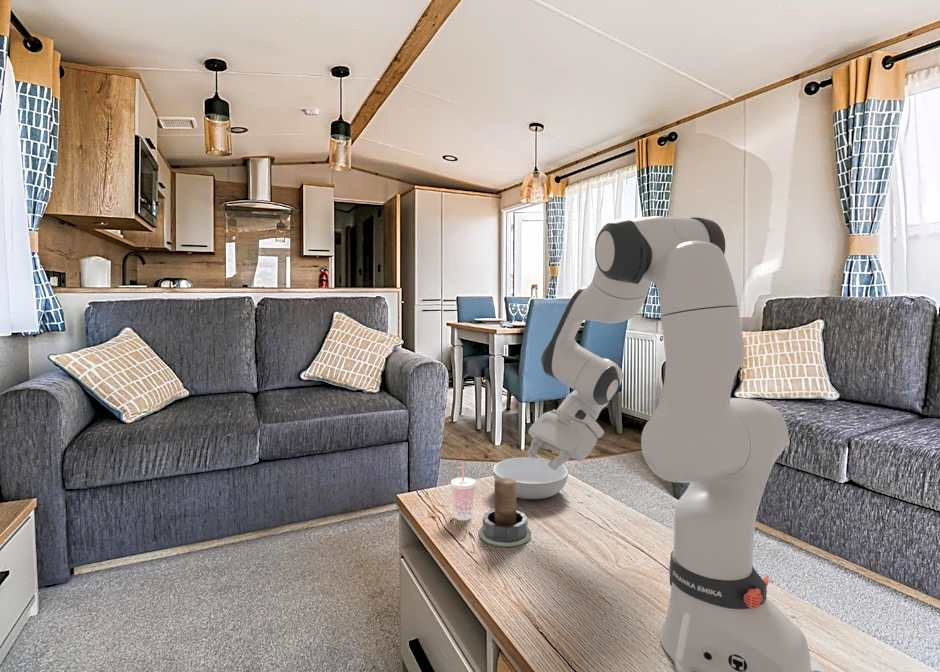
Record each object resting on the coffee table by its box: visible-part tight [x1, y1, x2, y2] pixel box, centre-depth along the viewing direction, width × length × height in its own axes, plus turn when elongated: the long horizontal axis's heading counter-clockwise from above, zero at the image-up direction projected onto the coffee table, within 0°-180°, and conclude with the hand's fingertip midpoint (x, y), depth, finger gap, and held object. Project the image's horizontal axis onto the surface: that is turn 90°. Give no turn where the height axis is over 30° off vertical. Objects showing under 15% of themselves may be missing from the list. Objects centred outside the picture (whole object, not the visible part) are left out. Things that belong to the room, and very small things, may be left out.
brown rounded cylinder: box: [494, 478, 517, 526], centre depth 118 cm, size 5×5×12 cm
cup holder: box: [478, 508, 532, 548], centre depth 119 cm, size 12×12×4 cm
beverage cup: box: [450, 461, 476, 521], centre depth 128 cm, size 6×6×14 cm
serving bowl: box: [492, 457, 569, 500], centre depth 144 cm, size 21×21×7 cm
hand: (540, 461), depth 121 cm, fingers open, 8 cm apart
